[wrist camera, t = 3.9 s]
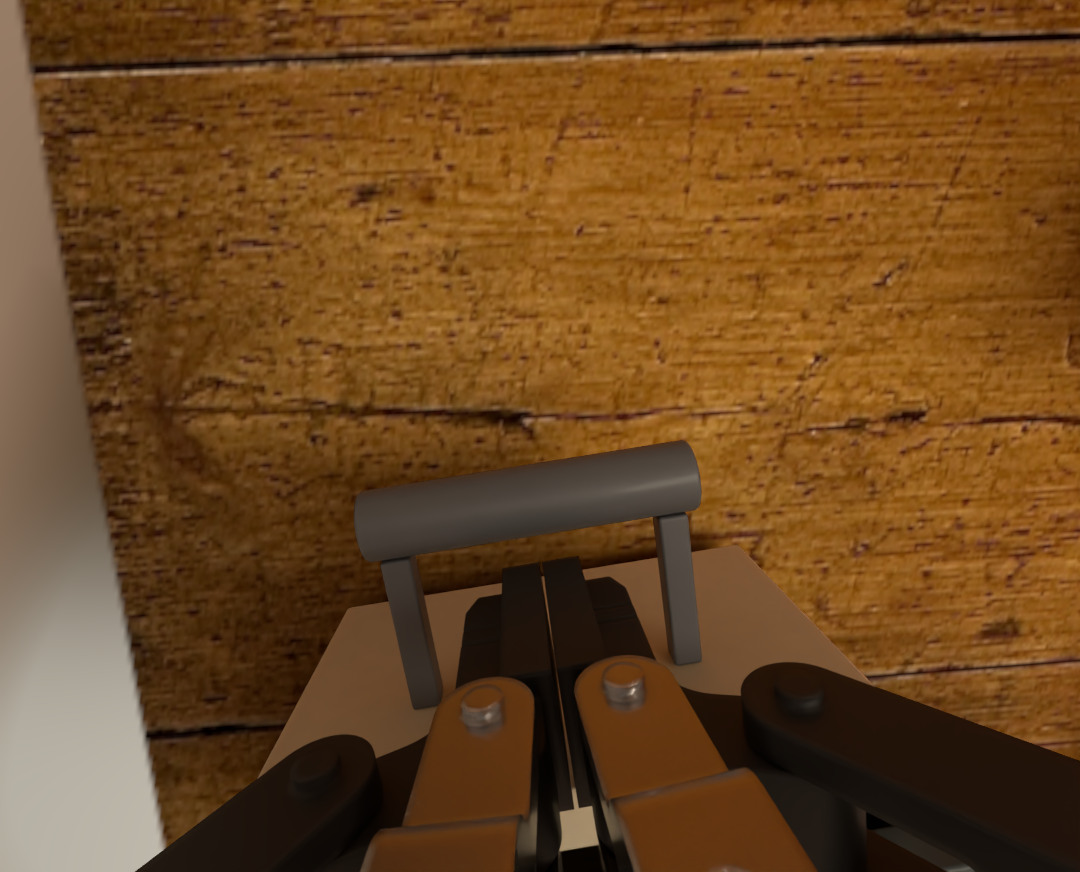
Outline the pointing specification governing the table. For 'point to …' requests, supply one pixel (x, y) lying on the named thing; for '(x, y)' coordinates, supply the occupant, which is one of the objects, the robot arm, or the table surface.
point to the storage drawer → (530, 510)
